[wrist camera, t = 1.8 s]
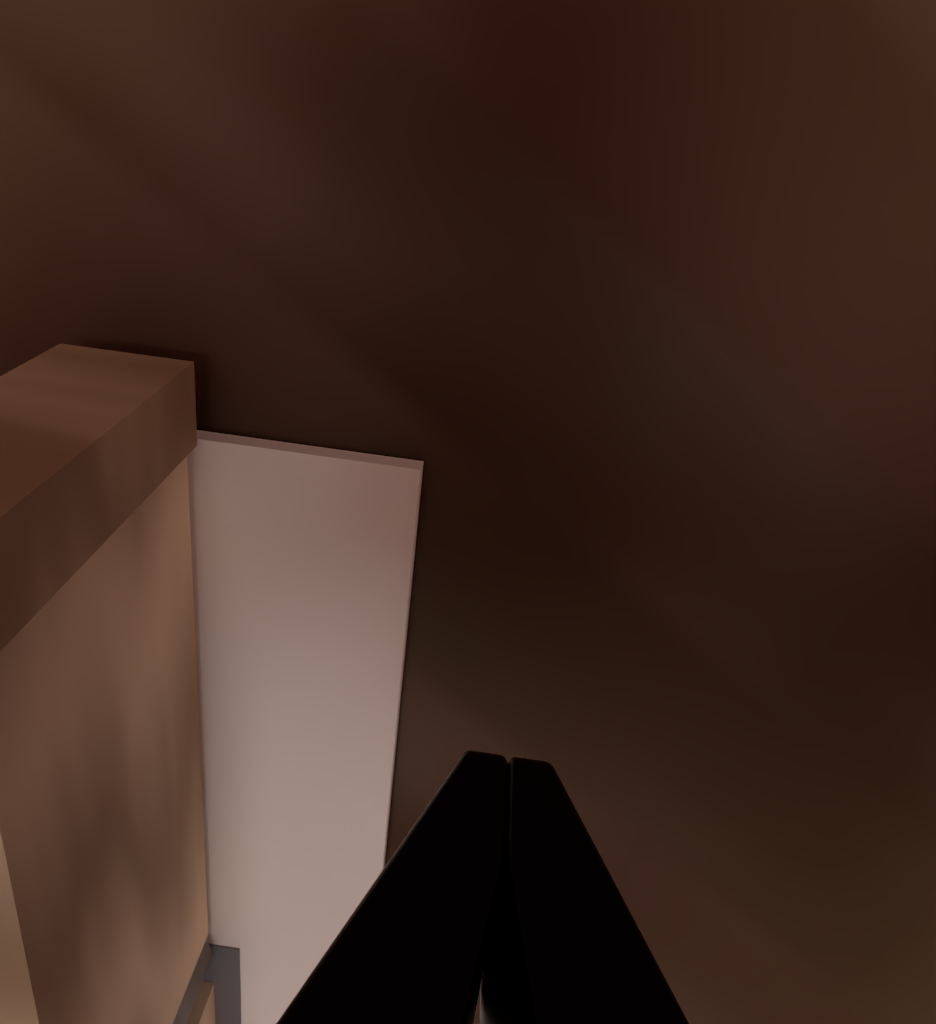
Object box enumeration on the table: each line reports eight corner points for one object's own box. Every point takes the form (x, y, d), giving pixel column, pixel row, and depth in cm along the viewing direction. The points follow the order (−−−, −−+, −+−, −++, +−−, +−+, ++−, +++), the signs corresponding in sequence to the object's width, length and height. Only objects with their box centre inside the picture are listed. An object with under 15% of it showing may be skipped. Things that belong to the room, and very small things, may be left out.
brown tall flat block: (217, 980, 17) (86, 1337, 12) (130, 966, 17) (-36, 1318, 12) (193, 361, 11) (-81, 581, 6) (60, 342, 11) (-315, 548, 6)
